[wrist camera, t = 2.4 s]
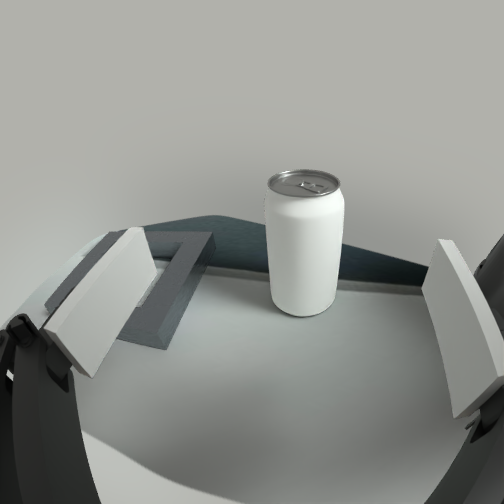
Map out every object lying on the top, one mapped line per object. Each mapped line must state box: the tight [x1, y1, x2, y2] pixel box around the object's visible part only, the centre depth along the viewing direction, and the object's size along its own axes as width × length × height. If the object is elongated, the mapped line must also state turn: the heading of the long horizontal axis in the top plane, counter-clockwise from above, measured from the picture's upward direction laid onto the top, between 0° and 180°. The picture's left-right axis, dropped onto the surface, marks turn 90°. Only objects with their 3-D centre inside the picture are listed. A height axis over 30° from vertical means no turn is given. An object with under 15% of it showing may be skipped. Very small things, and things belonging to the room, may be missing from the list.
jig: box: [44, 232, 216, 350], centre depth 31 cm, size 17×16×2 cm
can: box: [264, 169, 344, 317], centre depth 24 cm, size 6×6×12 cm
